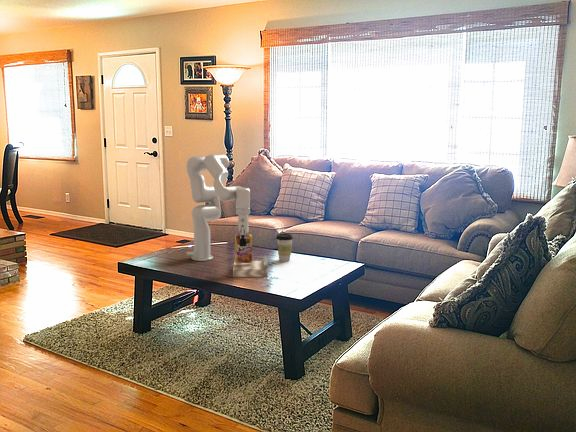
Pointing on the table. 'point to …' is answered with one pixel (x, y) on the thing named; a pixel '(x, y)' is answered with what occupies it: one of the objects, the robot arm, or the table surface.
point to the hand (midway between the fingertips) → (243, 244)
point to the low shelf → (251, 269)
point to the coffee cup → (284, 246)
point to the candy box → (243, 250)
